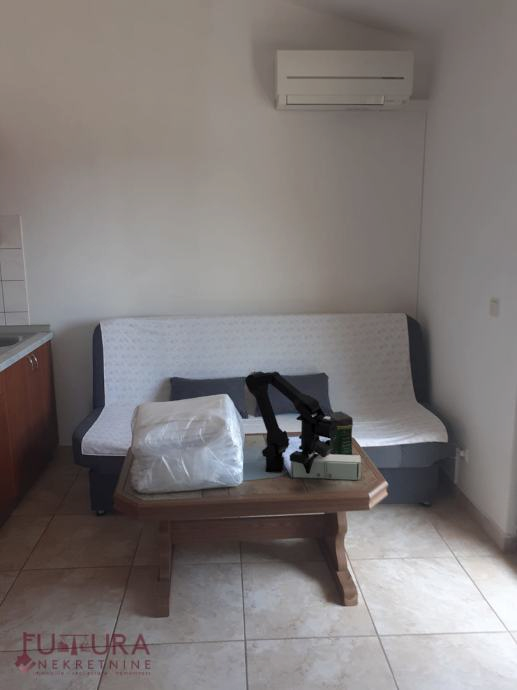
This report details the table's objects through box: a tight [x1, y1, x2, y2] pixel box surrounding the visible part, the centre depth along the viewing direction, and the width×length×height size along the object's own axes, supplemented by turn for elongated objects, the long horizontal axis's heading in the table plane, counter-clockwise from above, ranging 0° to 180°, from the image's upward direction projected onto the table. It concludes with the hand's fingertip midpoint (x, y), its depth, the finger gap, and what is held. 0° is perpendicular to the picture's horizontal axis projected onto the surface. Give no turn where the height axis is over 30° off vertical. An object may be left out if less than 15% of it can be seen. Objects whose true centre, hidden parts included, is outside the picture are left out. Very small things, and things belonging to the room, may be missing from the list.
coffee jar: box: [329, 411, 354, 455], centre depth 226 cm, size 10×8×19 cm
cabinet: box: [314, 453, 362, 481], centre depth 211 cm, size 26×8×7 cm, turn 83°
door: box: [290, 461, 325, 479], centre depth 209 cm, size 12×2×7 cm, turn 84°
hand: (308, 473), depth 207 cm, fingers closed
